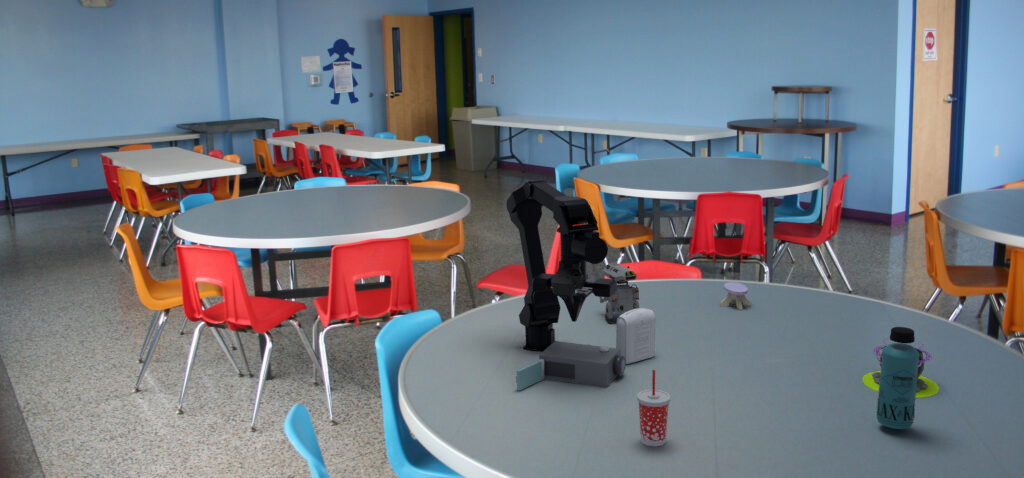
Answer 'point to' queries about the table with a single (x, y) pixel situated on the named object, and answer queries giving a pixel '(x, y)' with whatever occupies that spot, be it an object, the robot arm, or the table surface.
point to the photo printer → (636, 334)
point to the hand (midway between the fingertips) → (574, 321)
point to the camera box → (582, 363)
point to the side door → (530, 374)
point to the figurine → (620, 291)
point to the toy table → (735, 295)
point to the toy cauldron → (924, 384)
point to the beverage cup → (653, 415)
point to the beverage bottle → (898, 380)
